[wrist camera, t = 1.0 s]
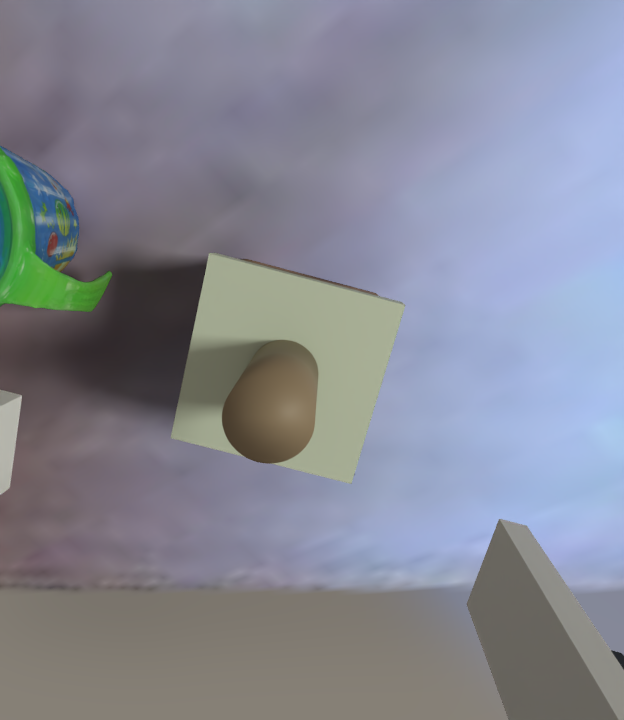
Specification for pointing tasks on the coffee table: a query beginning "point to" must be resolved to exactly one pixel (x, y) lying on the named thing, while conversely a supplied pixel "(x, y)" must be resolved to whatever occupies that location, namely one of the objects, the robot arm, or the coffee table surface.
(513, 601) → the robot arm
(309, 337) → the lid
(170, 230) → the coffee table surface
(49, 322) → the coffee table surface
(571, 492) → the coffee table surface
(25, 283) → the snack cup
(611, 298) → the coffee table surface
